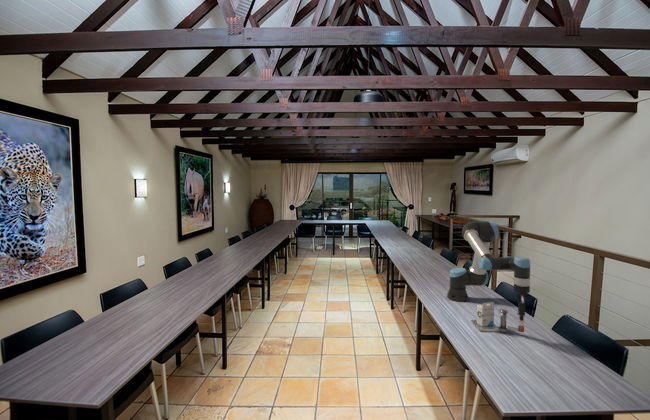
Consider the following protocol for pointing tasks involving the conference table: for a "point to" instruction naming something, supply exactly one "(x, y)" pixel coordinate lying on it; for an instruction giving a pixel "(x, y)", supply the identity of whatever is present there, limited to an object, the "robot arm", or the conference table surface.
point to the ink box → (485, 314)
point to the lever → (520, 328)
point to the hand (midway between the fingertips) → (521, 325)
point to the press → (494, 328)
